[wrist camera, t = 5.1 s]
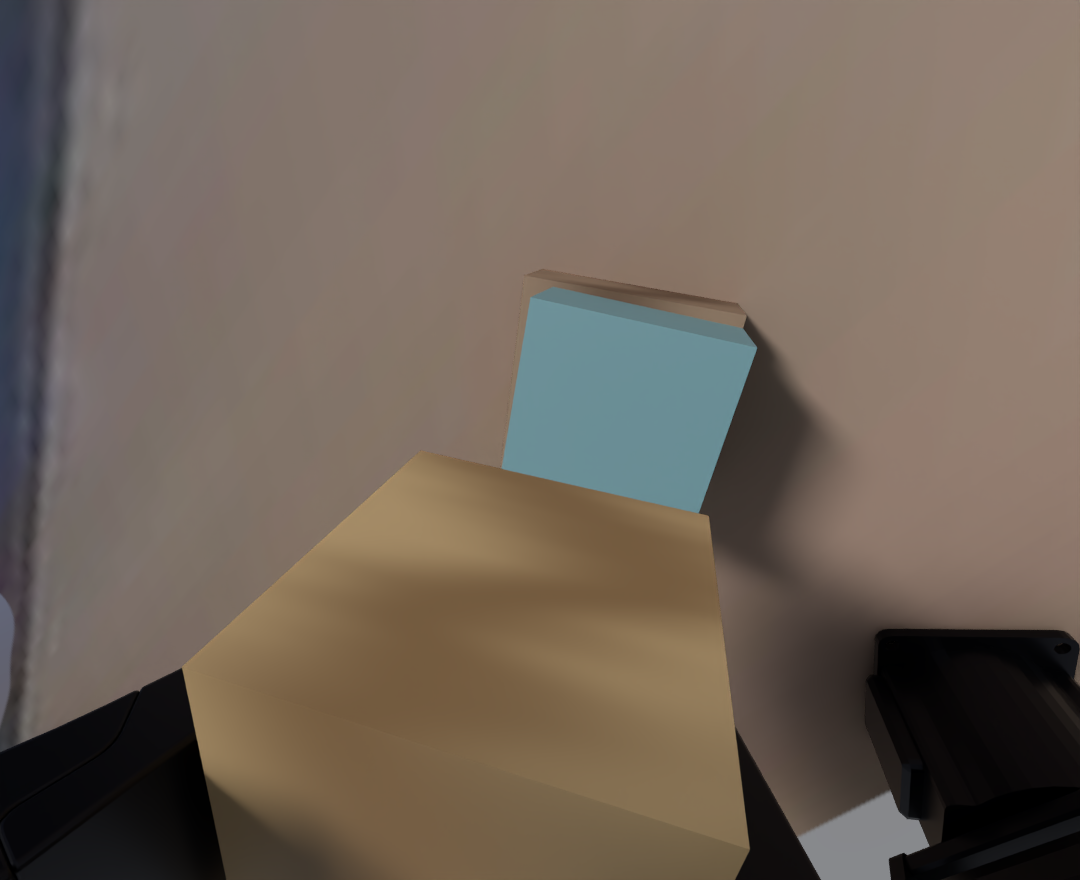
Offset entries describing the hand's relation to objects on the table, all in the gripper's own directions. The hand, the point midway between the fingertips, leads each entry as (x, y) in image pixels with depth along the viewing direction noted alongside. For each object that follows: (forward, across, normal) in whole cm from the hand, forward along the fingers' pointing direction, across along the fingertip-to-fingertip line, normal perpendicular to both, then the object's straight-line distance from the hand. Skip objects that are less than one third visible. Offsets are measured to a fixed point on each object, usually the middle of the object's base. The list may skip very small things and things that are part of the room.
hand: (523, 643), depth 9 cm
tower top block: (+10, 0, -1) cm, 10 cm away
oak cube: (+1, 0, 0) cm, 1 cm away
